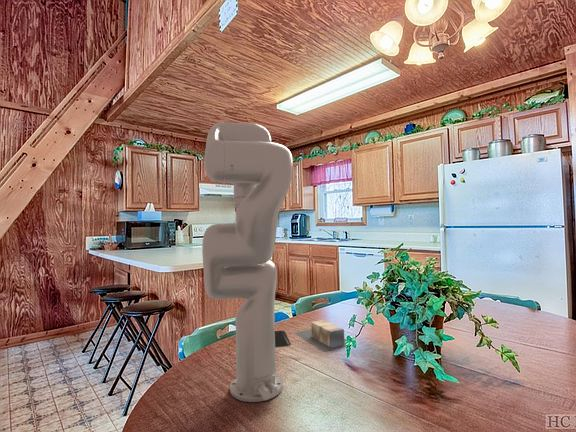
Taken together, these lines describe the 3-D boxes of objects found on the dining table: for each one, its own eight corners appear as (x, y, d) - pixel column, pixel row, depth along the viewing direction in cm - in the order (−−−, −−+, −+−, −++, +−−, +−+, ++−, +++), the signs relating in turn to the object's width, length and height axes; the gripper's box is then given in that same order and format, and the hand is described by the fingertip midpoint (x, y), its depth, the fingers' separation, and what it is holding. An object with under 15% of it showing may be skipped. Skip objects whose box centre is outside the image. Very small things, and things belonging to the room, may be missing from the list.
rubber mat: (355, 346, 102) (355, 344, 102) (324, 353, 96) (324, 351, 96) (321, 328, 120) (321, 327, 120) (293, 334, 114) (293, 332, 114)
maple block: (323, 334, 112) (344, 344, 102) (311, 336, 110) (331, 347, 99) (323, 319, 112) (343, 329, 102) (311, 322, 110) (331, 331, 99)
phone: (284, 330, 117) (291, 345, 102) (284, 333, 117) (291, 348, 102) (262, 332, 115) (267, 347, 101) (262, 335, 115) (267, 351, 101)
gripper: (264, 201, 102) (265, 258, 101) (248, 205, 115) (249, 255, 114) (241, 201, 98) (242, 260, 98) (228, 204, 111) (228, 256, 111)
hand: (246, 257), depth 106 cm, fingers closed
